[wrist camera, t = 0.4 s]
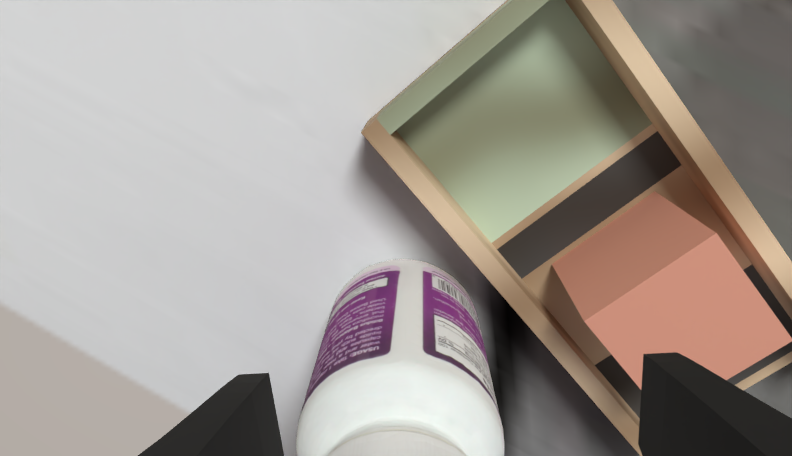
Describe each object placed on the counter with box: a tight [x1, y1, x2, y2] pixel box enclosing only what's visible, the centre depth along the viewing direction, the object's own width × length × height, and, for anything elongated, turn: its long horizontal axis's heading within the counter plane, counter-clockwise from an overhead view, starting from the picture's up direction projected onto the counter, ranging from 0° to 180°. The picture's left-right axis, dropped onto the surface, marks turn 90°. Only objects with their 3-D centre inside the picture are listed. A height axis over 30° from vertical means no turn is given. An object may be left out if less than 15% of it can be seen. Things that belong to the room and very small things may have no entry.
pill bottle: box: [296, 259, 504, 456], centre depth 16 cm, size 5×5×10 cm
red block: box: [552, 191, 792, 389], centre depth 17 cm, size 4×4×4 cm
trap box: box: [361, 0, 792, 456], centre depth 18 cm, size 16×7×2 cm, turn 41°
